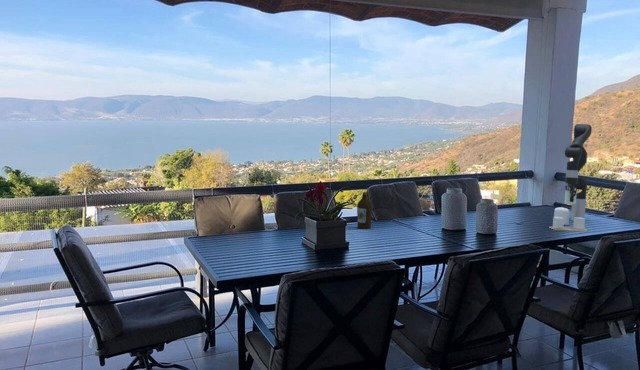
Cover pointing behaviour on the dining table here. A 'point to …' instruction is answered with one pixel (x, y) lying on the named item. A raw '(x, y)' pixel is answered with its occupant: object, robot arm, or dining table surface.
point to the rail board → (570, 229)
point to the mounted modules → (578, 224)
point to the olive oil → (364, 212)
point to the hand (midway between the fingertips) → (570, 201)
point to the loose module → (567, 198)
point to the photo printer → (562, 214)
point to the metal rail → (565, 228)
